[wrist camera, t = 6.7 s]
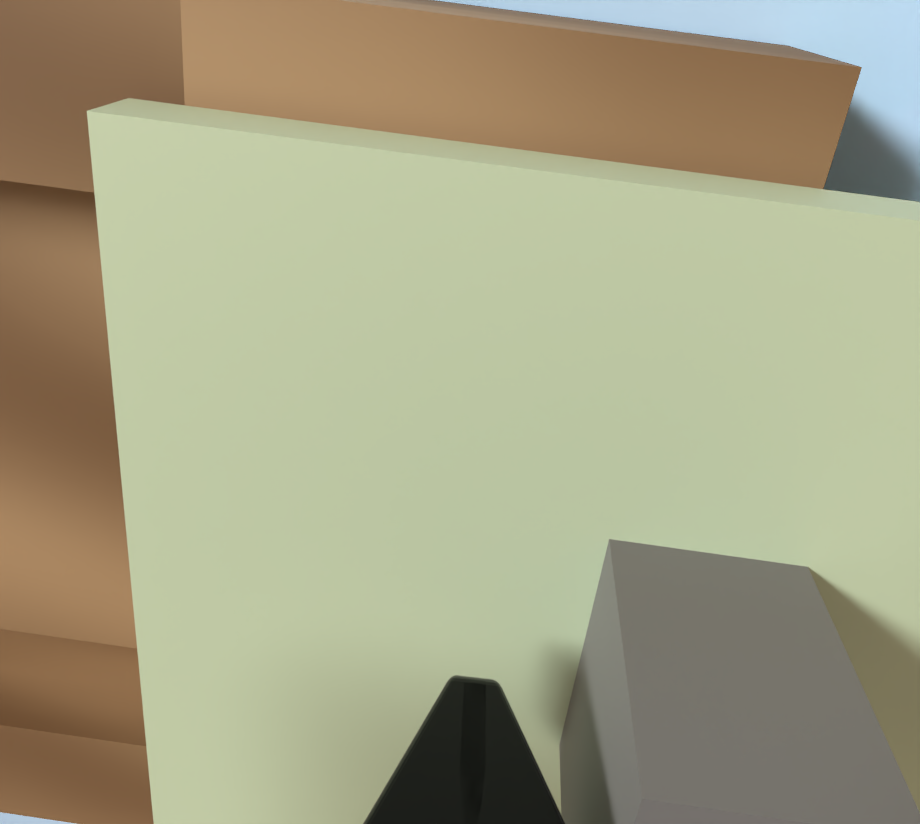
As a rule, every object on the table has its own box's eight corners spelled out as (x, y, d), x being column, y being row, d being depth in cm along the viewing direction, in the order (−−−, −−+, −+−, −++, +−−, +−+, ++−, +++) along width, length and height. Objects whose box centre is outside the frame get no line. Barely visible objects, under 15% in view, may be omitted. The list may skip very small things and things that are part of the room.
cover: (1000, 937, 12) (1180, 1309, 9) (179, 815, 12) (45, 1132, 9) (1474, 275, 7) (2259, 529, 4) (128, 98, 8) (-196, 196, 4)
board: (590, 769, 15) (599, 901, 13) (-385, 627, 15) (-533, 732, 13) (788, 45, 9) (861, 68, 7) (-761, -153, 10) (-1123, -188, 8)
